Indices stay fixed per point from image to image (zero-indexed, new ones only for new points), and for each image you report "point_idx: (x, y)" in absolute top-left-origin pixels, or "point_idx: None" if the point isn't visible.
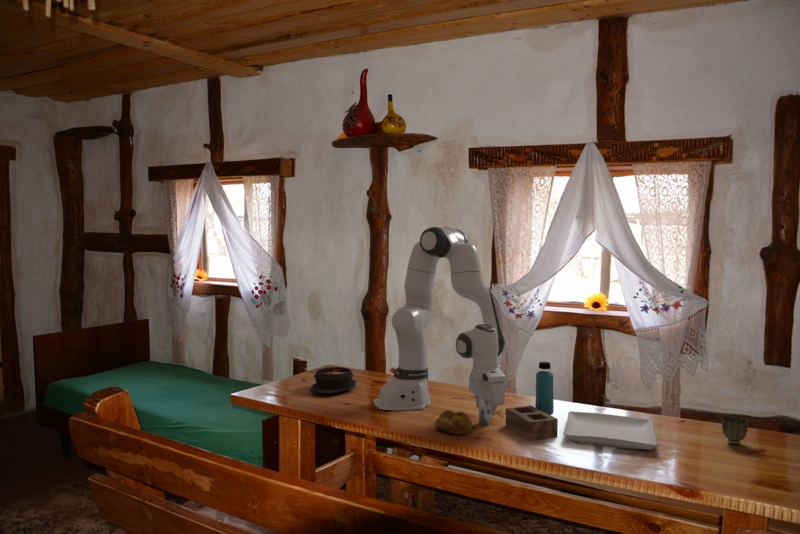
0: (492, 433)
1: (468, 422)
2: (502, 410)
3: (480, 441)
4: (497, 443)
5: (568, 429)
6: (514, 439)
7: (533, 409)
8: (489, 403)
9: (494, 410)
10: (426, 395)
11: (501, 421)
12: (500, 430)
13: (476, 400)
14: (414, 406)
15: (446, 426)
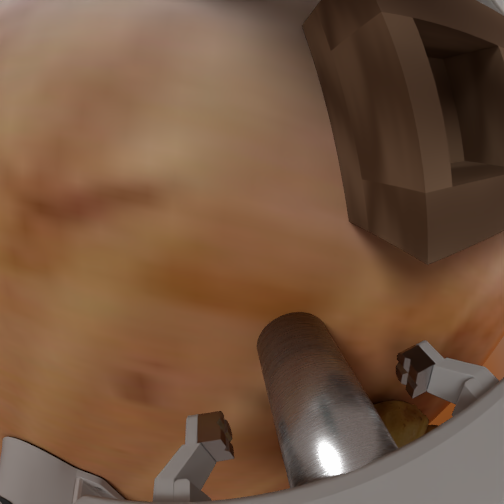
0: (430, 316)
1: (426, 428)
2: (11, 170)
3: (463, 356)
4: (494, 305)
5: (497, 9)
6: (496, 236)
7: (465, 22)
8: (384, 425)
9: (441, 363)
10: (49, 485)
11: (256, 226)
12: (413, 273)
13: (208, 476)
14: (106, 493)
15: None
